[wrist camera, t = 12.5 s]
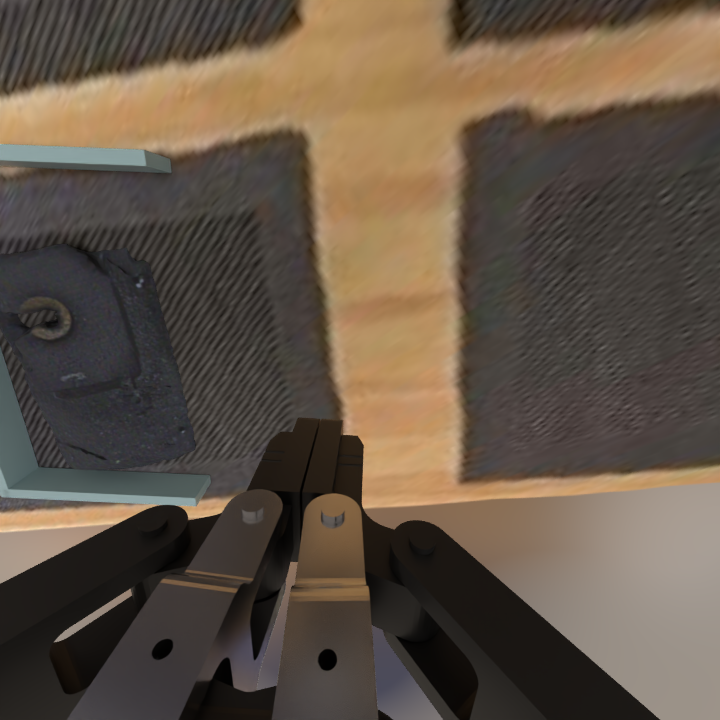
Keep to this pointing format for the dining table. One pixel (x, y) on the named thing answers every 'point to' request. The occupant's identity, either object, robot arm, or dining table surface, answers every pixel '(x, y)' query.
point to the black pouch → (96, 355)
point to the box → (3, 415)
